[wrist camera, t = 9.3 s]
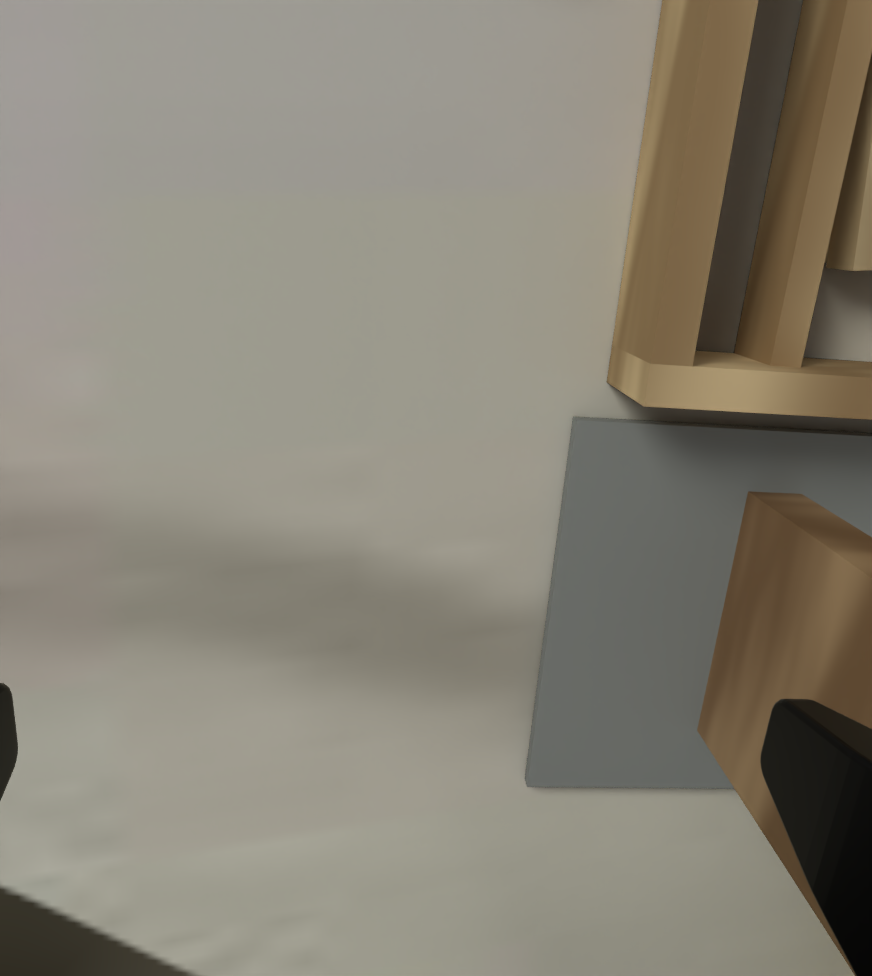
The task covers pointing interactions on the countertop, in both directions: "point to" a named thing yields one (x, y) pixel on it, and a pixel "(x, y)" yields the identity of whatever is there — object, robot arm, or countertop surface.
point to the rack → (697, 204)
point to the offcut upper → (856, 196)
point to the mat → (659, 587)
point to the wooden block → (788, 643)
